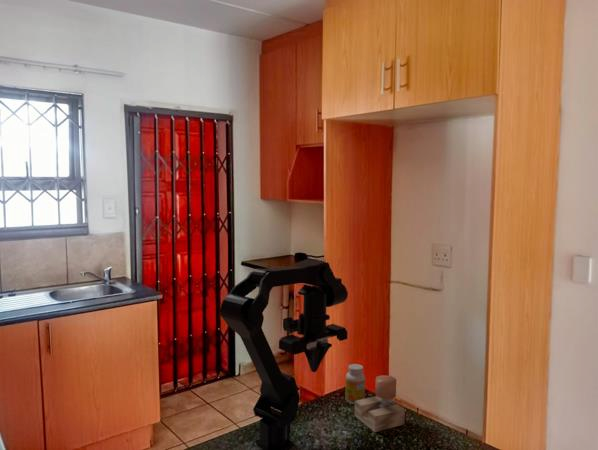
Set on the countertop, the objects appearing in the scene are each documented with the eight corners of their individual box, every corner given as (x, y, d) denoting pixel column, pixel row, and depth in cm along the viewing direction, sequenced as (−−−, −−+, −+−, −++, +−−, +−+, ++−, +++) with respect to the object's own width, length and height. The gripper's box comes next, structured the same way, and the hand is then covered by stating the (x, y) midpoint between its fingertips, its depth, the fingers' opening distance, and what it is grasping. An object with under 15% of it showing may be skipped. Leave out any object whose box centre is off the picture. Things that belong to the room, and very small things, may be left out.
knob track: (374, 432, 113) (375, 416, 113) (354, 415, 121) (354, 400, 121) (404, 424, 117) (404, 409, 117) (382, 408, 125) (383, 394, 125)
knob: (382, 419, 116) (383, 385, 116) (370, 410, 121) (371, 377, 120) (399, 414, 119) (400, 381, 118) (387, 406, 123) (388, 374, 123)
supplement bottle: (341, 398, 131) (342, 364, 131) (357, 394, 134) (358, 361, 133) (351, 406, 127) (352, 371, 126) (368, 402, 129) (369, 368, 128)
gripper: (319, 298, 128) (318, 354, 129) (265, 310, 116) (264, 371, 117) (349, 307, 120) (348, 366, 121) (294, 320, 107) (293, 385, 109)
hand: (313, 371), depth 117 cm, fingers closed
